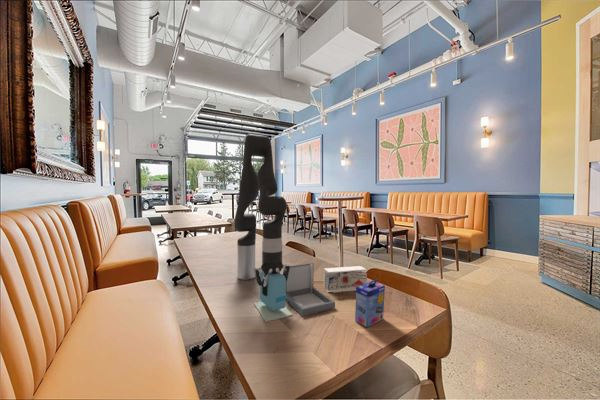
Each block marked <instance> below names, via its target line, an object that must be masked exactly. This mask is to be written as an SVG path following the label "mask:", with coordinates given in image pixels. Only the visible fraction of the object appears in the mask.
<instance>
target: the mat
mask: <svg viewBox="0 0 600 400" xmlns="http://www.w3.org/2000/svg"><path fill="white" fill-rule="evenodd" d="M253 305H254V306H255V308H256V310H257V311H258V313H259V315H261V317H262V318H263V320H264V321H265V322H267V323H268V322H270V321H275V320H279V319H284V318H288V317H292V316H293V314H292V312H291V311H290V310H289V309H288V307H286V306H285V308H282V309H279V310H276V311H273V310H272V309H270V308H269V307H268V306H267V305H265V304H264V303H263V302H261V301H256V302H254V303H253Z"/></svg>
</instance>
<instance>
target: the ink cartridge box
mask: <svg viewBox="0 0 600 400" xmlns="http://www.w3.org/2000/svg"><path fill="white" fill-rule="evenodd" d="M377 281H378V278H376V279H374V280H372V281H368V282H367V283H366V284H362V285H360V286H357V287H356V290H355V315H354V317H355V318H354V321H355V322H357V323H359V324H360V325H361V326H363V327H365V328H368V327H371V326H372V325H374V324H376V323H378V322H381V321H382V320H383V319H384V311H385V291H386V290H385V289H386V285H385V284H382V283H380V282H377Z"/></svg>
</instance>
